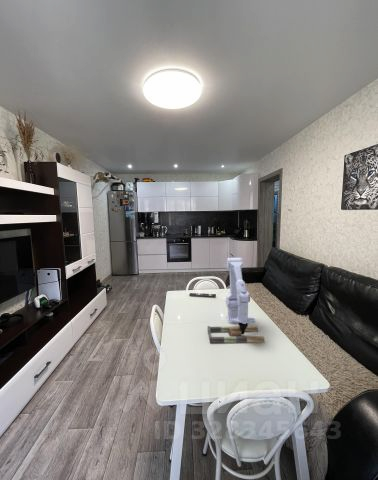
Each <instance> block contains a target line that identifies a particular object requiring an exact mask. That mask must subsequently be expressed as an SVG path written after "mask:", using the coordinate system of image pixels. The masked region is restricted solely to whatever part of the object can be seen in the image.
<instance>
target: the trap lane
mask: <svg viewBox="0 0 378 480" xmlns="http://www.w3.org/2000/svg"><path fill="white" fill-rule="evenodd" d="M236 326H238V327H239V328H240V326H239V325H235V326H229V325H228V326H210V325H207V335H208V340H209V343H210V344H227V343H231V344H235V343H236V344H237V343H241V344H242V343H265V336H264V335H251V336H250V335H248V336H247V335H246V336H245V335H244V336H243V335H242V336H234V337H230V336H212V333H229V327H236ZM245 332H247V333H248V332H249V333H250V332H251V333H252V332H259V327H258V325H248V326H247V328H246V330H245ZM245 332H244V333H245Z"/></svg>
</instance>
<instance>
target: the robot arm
mask: <svg viewBox="0 0 378 480" xmlns="http://www.w3.org/2000/svg"><path fill="white" fill-rule="evenodd" d="M243 265H244V260H243V258H242V257H227V258H226V269H227V270H228V271H229V294H227V295H226V299H225V305H226V308H227V315H226V319H227V321H228V324H238V326H240V330H241V331H242V336H243V335H244V336H245V330H246V328H247V326H249V323H253V324H255V323H256V318H254V317H249V303H250V301H251V296H250V293H249V291H248V290H247V286H246V282H245V281H244V280H243V273H242V268H243Z"/></svg>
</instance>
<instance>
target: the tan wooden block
mask: <svg viewBox="0 0 378 480" xmlns="http://www.w3.org/2000/svg"><path fill="white" fill-rule="evenodd" d="M235 326H236V327H229V332H228V337H234V336H243V335H242V331H241V330H240V328H239V327H238V326H239V325H235Z"/></svg>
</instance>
